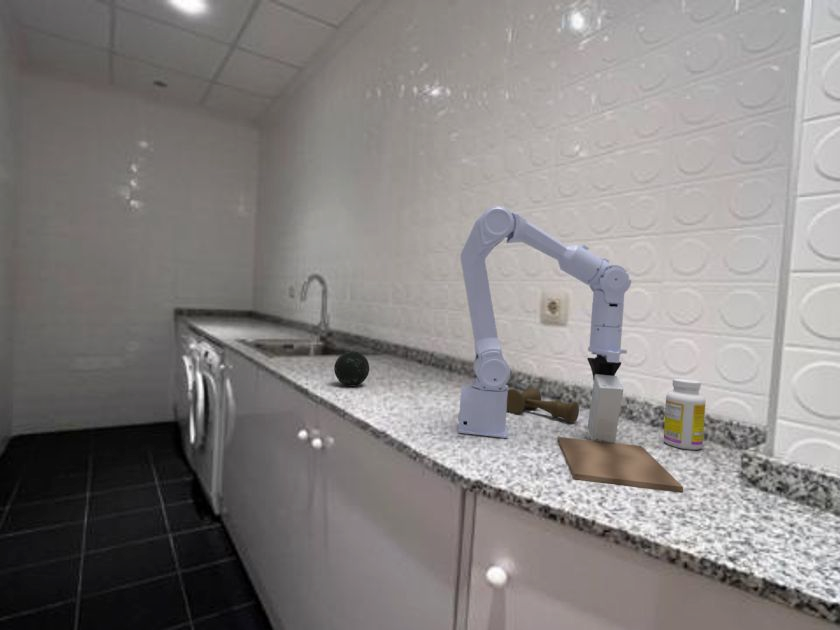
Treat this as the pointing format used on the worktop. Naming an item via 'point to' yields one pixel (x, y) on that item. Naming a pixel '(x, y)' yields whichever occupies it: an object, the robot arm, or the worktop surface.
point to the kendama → (540, 404)
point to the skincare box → (605, 408)
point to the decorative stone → (351, 368)
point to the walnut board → (615, 464)
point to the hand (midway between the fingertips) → (601, 394)
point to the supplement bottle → (684, 415)
